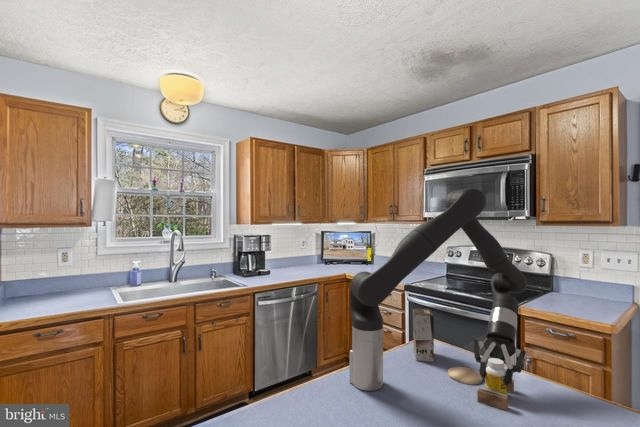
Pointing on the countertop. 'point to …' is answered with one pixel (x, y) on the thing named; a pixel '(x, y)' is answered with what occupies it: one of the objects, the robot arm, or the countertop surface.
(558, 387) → the countertop surface
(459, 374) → the trivet
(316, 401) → the countertop surface
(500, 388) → the supplement bottle
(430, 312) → the coffee box
